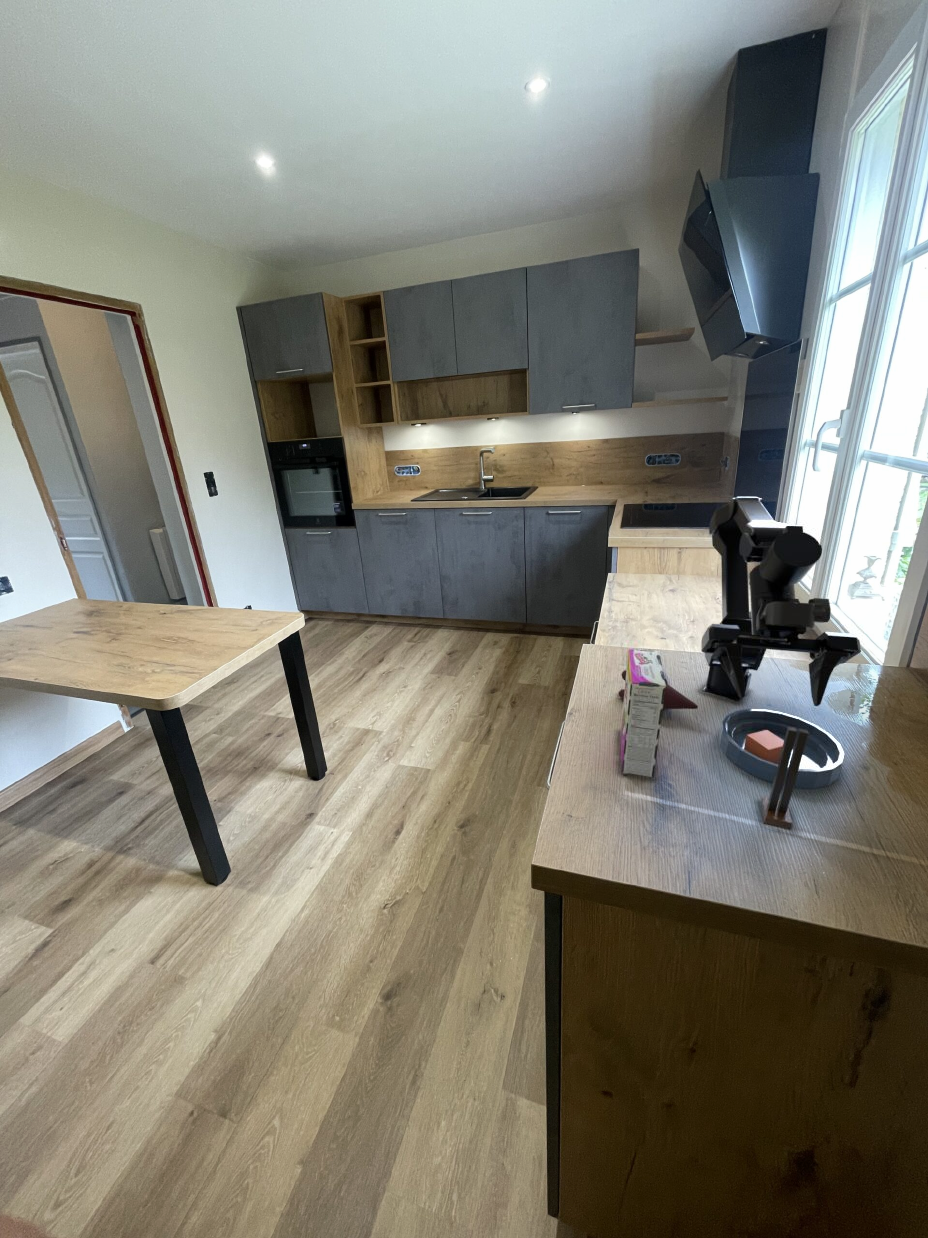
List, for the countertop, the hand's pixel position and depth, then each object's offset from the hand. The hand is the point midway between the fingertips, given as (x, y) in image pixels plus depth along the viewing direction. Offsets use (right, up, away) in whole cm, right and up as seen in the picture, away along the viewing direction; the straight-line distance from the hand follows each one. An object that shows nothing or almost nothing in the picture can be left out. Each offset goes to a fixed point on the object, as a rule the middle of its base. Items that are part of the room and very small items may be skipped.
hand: (779, 701), depth 67 cm
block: (+3, -11, +8) cm, 14 cm away
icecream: (-8, -6, +23) cm, 25 cm away
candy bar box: (-16, -11, +11) cm, 22 cm away
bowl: (+6, -10, +10) cm, 16 cm away
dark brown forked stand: (-2, -15, -2) cm, 16 cm away
